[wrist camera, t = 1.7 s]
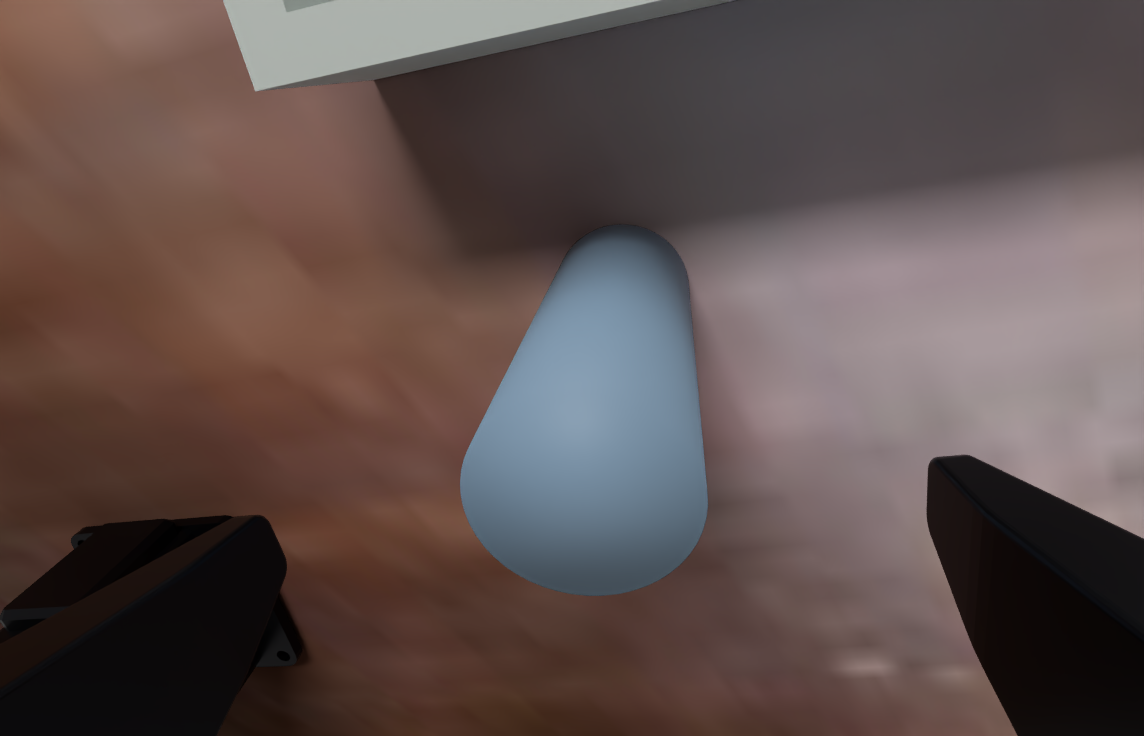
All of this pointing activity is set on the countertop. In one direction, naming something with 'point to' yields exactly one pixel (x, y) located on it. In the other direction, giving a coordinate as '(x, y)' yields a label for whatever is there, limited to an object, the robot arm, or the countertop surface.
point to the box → (410, 33)
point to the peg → (596, 426)
